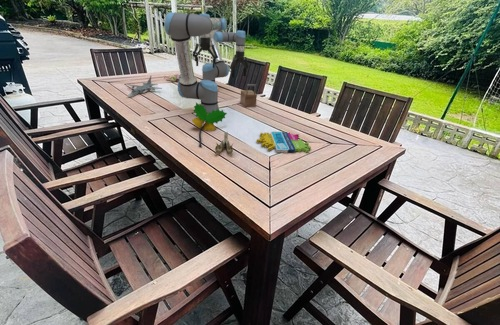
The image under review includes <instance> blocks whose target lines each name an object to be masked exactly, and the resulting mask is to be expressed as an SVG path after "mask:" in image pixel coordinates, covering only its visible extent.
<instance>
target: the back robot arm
mask: <svg viewBox="0 0 500 325" xmlns="http://www.w3.org/2000/svg"><path fill="white" fill-rule="evenodd" d="M209 38H210V45H214V48H215V50H216V53H217V55H218V58H216V63H215V67H214V68H213V62H207V63H204V64H203V65H202V67H201V68H202V69H201V72H202V73H201V74H202V80H210V81H213V82H215V83H216V79H218V78H225V77H228V75H229V73H230V71H231V78H233V79H234V78H235V74H236V73H235V71H236V70H235V69H236V67H237V66H238V64H241V65H242V66H243V76H242V77H247V72H248V71H247V70H248V69H249V67H250V66H249V62H248V57H247V56H245V50H246V49H245V48H246V31H245V30H236V32H233V31H221V30H216V31H211V32H210V37H209ZM218 43H235V57H234V56H233V57H232V61H231V63H230V66H229V65H228V64H227V63H225V60H224V59H223V57H222V55H221V51H220V48H219V44H218ZM210 49H211V51H212V53H213V54H214V52H213V50H212V48H211V47H210ZM214 55H215V54H214ZM211 58H212V60H213V59H214V58H213V57H212V56H211ZM165 80H166V81H168V82H171V81H170V79H168V78H165ZM178 82H179V80H175V81H174V83H178Z"/></svg>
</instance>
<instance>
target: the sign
mask: <svg viewBox="0 0 500 325" xmlns="http://www.w3.org/2000/svg"><path fill="white" fill-rule="evenodd" d="M299 136H300V135H299V134H298V133H296V134H294V133H291V132H287V131H270V132H264V133H263V132H260V133H259V139H258V138H257V139H256V143H257V144H261V148H263V147H264V148H265V149H267V151H268V152H271V151H272V150H273V149H275V152H276V153H283V154H285V153H287V154H288V153H290V154H293V153H296V152H298V153H301V152H305V153H310V151H311V150H312V149H311V148H312V146H309V142H304V141H303V139H302V138H299Z"/></svg>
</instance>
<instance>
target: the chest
mask: <svg viewBox="0 0 500 325" xmlns="http://www.w3.org/2000/svg"><path fill="white" fill-rule="evenodd" d="M257 97H258V95H257V96H247V97H246V96H245V95H244V94H243V93H241V92H240V99H239V100H240V101H239V103H240V105H242V106H243V107H244V108H255V107H257V99H258V98H257Z"/></svg>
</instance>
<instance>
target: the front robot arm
mask: <svg viewBox="0 0 500 325" xmlns="http://www.w3.org/2000/svg"><path fill="white" fill-rule="evenodd" d="M227 22H228V21H227V19H226V18H223V17H212V16H210V14H209V13H199V14H196V13H188V12H187V13H185V12H176V11H175V12H168V13H167V14H166V15H165V18H164V30H165V33H166V35H168V36H170V40H171V41H172V42H173V43H174V48H175V52H176V58H177V64H178V68H179V73H180V74H179V75H181V78H180V80H178V82H177V93H178V94H179V96H180V97H181V98H184V99H191V100H192V99H193V100H199V101H200V104H201V106H204V109H206V112H208V113H211V112H212V110H214V111H216V110H217V109H219V111H221V110H220V108H219V102H218V99H219V98H218V97H219V88H218V84H217V82H216V81H215V82H213V81H210V80H203V79H201V80H200V81H198V78H197V77H196V76H195V72H194V67H193V66H194V65H193V60H192V57H194V62H195V66H196V67H199V55H200V54H201V52H202V51H205V52H208V53H209V54H210V56H211V58H212V57H213V58H214V59H212V63H213V68H214V67H215V63H216V58H218V55H217V53H216V50H215V48H214V45H210V38H209V37H210V32H211V31H216V30H218V31H220V32H223V31H226V30H227V26H228V25H227V24H228V23H227ZM192 37H193V38H194V37H195V38H196V37H199V43H196V44H195V48H194V50H193V53H191V47H190V40H191V38H192ZM199 47H200V48H199ZM210 47H211V48H212V50H213V52H214V54H215V55H214V54H213V53H212V51H211V49H210ZM198 49H199V50H198ZM208 113H207V115H208ZM204 125H205V123H203V125H202V127H201V129H200V128H199V134H198V137H199V148H201V147H202V131H203V130H204V129H203V127H204Z"/></svg>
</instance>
